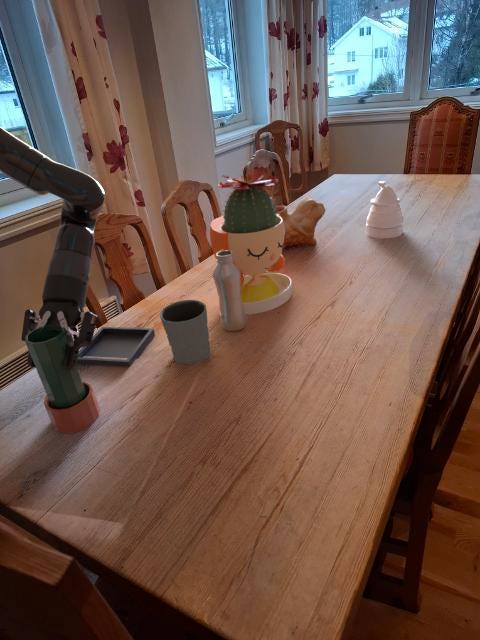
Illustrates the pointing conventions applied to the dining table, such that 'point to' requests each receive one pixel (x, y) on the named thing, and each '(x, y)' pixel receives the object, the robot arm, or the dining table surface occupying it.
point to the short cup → (74, 413)
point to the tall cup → (55, 366)
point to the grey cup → (187, 331)
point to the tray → (116, 346)
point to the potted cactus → (253, 241)
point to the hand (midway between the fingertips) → (50, 368)
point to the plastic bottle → (229, 292)
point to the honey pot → (385, 214)
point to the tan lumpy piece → (301, 222)
